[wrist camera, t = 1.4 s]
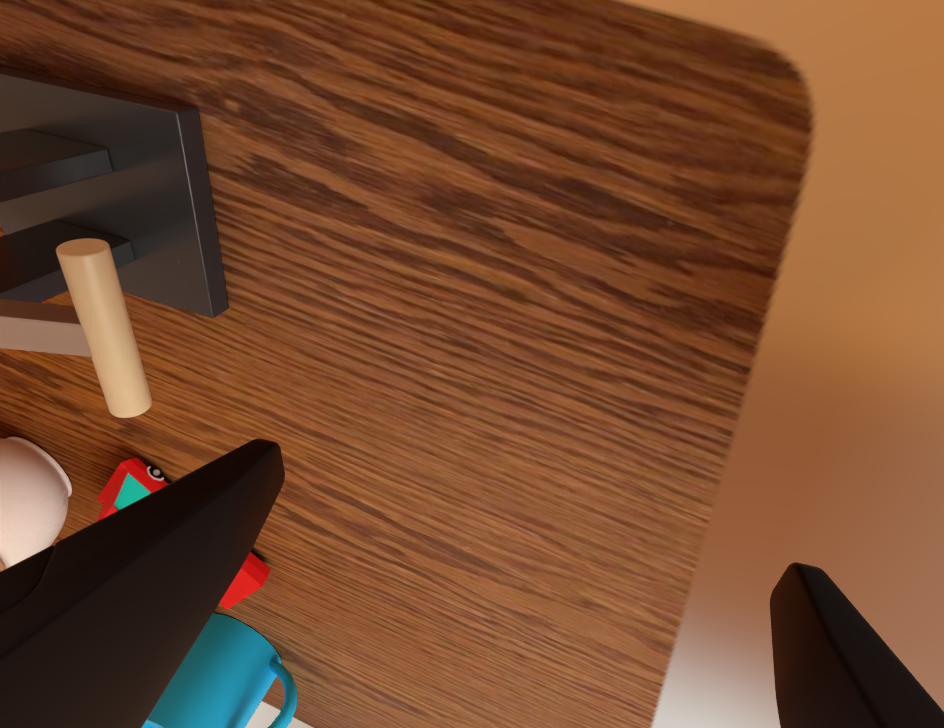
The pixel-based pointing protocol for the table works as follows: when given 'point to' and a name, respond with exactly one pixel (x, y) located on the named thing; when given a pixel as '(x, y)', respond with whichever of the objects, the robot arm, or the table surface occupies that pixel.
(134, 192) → the bracket
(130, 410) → the lever
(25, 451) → the trinket box
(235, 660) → the mug
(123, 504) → the toy car
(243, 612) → the table surface
